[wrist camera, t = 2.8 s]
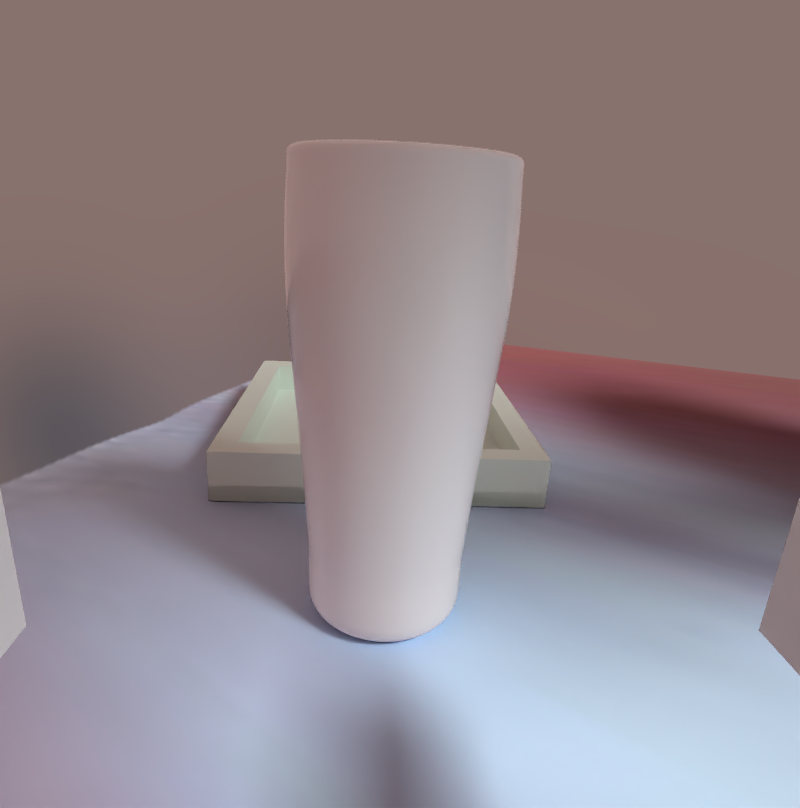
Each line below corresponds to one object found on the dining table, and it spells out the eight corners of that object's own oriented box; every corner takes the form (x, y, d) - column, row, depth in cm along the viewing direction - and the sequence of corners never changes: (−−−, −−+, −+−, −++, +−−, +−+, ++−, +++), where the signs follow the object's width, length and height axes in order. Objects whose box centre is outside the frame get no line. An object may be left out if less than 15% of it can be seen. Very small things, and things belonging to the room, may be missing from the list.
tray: (483, 401, 44) (486, 368, 43) (544, 507, 28) (551, 460, 28) (265, 394, 43) (264, 360, 42) (208, 500, 27) (205, 451, 27)
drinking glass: (274, 667, 18) (262, 131, 13) (300, 545, 24) (299, 154, 20) (492, 669, 18) (560, 149, 13) (462, 548, 25) (500, 166, 20)
